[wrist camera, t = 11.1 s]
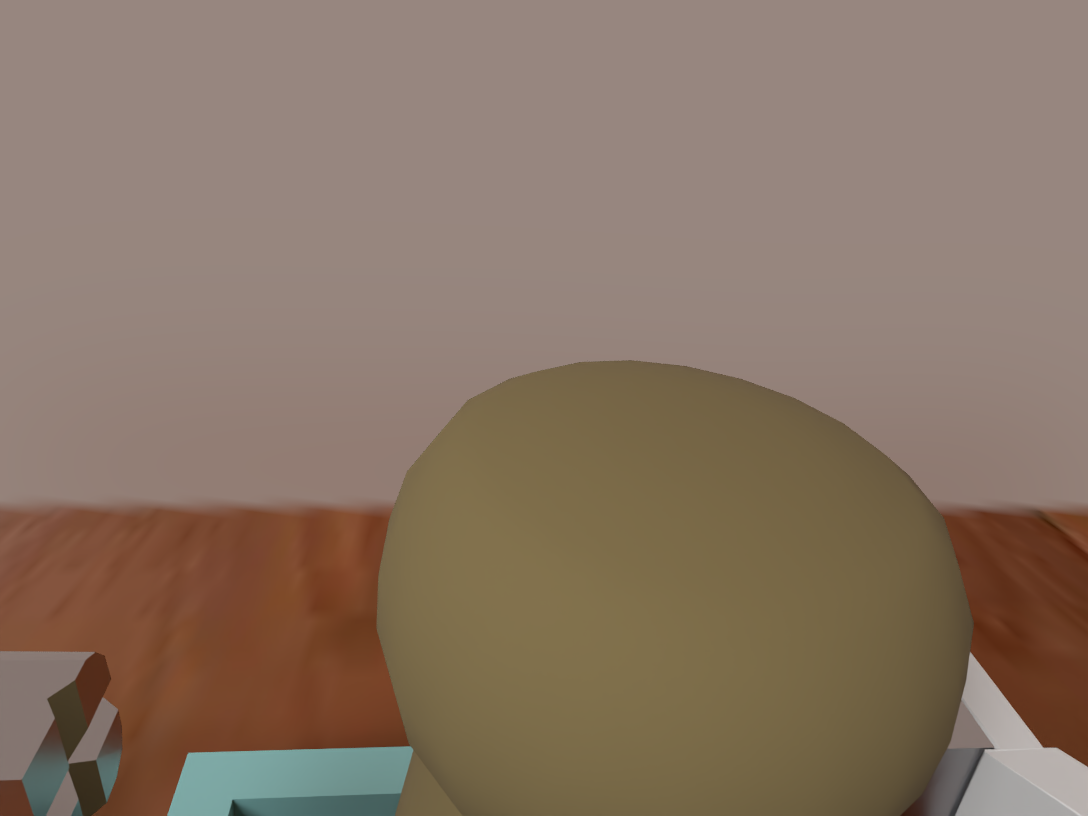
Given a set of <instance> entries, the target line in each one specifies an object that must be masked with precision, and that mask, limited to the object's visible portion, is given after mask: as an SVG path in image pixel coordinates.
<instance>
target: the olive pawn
mask: <svg viewBox="0 0 1088 816" xmlns="http://www.w3.org/2000/svg"><path fill="white" fill-rule="evenodd" d="M973 625H974V622H973V619H972V615H971V611H970V607H969V603H968V600H967V596H966V592H965V588H964V584H963V581H962V577H961V573H960V569H959V565H958V562H957V559H956V556H955V552H954V549H953V546H952V543H951V539H950V536H949V533H948V530H947V527H946V523H945V520H944V518H943V516H942V515H941V514H940V513H939V512H938V510H937V509H936V508H935V507H934V505H933V504H932V503H931V502H930V501H929V499H928V498H927V497H926V496H925V494H924V493H923V492H922V491H921V490H920V488H919V487H918V486H917V485H916V484H915V483H914V481H913V480H912V479H911V477H910V476H909V475H908V474H907V473H906V472H904V471H903V470H902V469H901V468H900V467H899V466H898V465H896V464H895V463H894V462H893V461H892V460H891V459H889V458H888V457H887V456H886V455H885V454H883V453H882V452H881V451H880V450H878V449H877V448H876V447H874V446H873V445H872V444H870V443H869V442H868V441H866V440H865V439H864V438H862V437H861V436H859V435H858V434H857V433H856V432H854V431H853V430H851V429H850V428H849V427H847V426H846V425H845V424H843V423H841V422H839V421H838V420H836V419H834V418H832V417H830V416H828V415H826V414H824V413H822V412H820V411H818V410H816V409H814V408H812V407H810V406H808V405H807V404H805V403H803V402H801V401H799V400H797V399H795V398H792V397H790V396H787V395H784V394H781V393H779V392H776V391H773V390H770V389H767V388H765V387H762V386H759V385H756V384H754V383H751V382H748V381H745V380H742V379H739V378H735V377H730V376H726V375H722V374H717V373H713V372H709V371H704V370H700V369H696V368H691V367H687V366H679V365H670V364H660V363H650V362H641V361H631V360H629V361H600V362H579V363H574V364H569V365H565V366H560V367H556V368H551V369H546V370H542V371H537V372H533V373H530V374H526V375H522V376H518V377H515V378H511V379H508V380H506V381H504V382H503V383H501V384H499V385H497V386H495V387H493V388H491V389H489V390H487V391H485V392H483V393H481V394H479V395H477V396H475V397H473V398H471V399H469V400H468V401H467V402H466V403H465V404H464V405H463V407H462V408H461V409H460V410H459V411H458V412H457V413H456V415H455V416H454V417H453V418H452V419H451V420H450V422H449V423H448V424H447V425H446V426H445V427H444V429H443V430H442V431H441V432H440V433H439V434H438V436H437V437H436V438H435V439H434V440H433V441H432V443H431V444H430V445H429V446H428V447H427V449H426V450H425V451H424V452H423V453H422V455H421V456H420V457H419V458H418V459H417V460H416V462H415V463H414V464H413V465H412V466H411V468H410V469H409V470H408V471H407V473H406V476H405V478H404V481H403V484H402V487H401V489H400V492H399V495H398V497H397V500H396V503H395V506H394V508H393V511H392V514H391V516H390V519H389V524H388V529H387V535H386V540H385V545H384V550H383V555H382V560H381V565H380V571H379V577H378V605H377V631H378V635H379V639H380V642H381V646H382V649H383V653H384V656H385V660H386V664H387V667H388V671H389V674H390V678H391V681H392V685H393V689H394V692H395V696H396V699H397V703H398V706H399V710H400V714H401V717H402V721H403V724H404V728H405V731H406V735H407V738H408V742H409V745H410V746H411V748H412V749H413V753H412V757H411V760H410V764H409V767H408V771H407V774H406V778H405V781H404V785H403V788H402V792H401V795H400V799H399V802H398V806H397V810H396V813H395V816H900V815H901V814H902V813H903V812H904V811H905V810H906V809H908V808H909V807H910V806H911V805H912V804H913V803H914V802H915V801H916V800H917V799H918V798H919V797H920V796H921V795H922V794H923V792H924V790H925V788H926V787H927V785H928V783H929V781H930V779H931V777H932V775H933V774H934V772H935V770H936V768H937V766H938V764H939V763H940V761H941V759H942V757H943V755H944V753H945V752H946V750H947V748H948V746H949V744H950V742H951V738H952V734H953V730H954V726H955V722H956V719H957V715H958V711H959V707H960V703H961V699H962V695H963V691H964V687H965V683H966V678H967V670H968V663H969V655H970V648H971V640H972V633H973Z"/></svg>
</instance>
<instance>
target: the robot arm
mask: <svg viewBox="0 0 1088 816" xmlns="http://www.w3.org/2000/svg"><path fill="white" fill-rule="evenodd" d="M110 680H111V677H110V673H109V669H108V666H107V662H106V659H105V656H104V655H102V654H99V653H96V652H10V651H0V816H91V815H93V814H94V813H95V812H96V811H97V810H98V809H100V808H101V807H102V806H103V805H104V804H106V803H107V800H108V798H109V795H110V793H111V790H112V788H113V785H114V782H115V780H116V777H117V772H118V767H119V762H120V757H121V752H122V725H121V720H120V716H119V711H118V709H117V708H116V707H114V706H113V705H112V704H111V703H109V702H108V701H107V700H106V699H104V698H103V695H104V693H105V691H106V689H107V687H108V685H109V682H110ZM900 816H1088V767H1087V766H1085V765H1084V764H1082V763H1080V762H1079V761H1077V760H1075V759H1074V758H1072V757H1071V756H1069V755H1067V754H1066V753H1064V752H1063V751H1061V750H1059V749H1058V748H1043V747H1042V745H1041V744H1040V743H1039V741H1038V740H1037V739H1036V737H1035V736H1034V735H1033V733H1032V732H1031V731H1030V730H1029V728H1028V727H1027V726H1026V724H1025V723H1024V722H1023V720H1022V719H1021V718H1020V716H1019V715H1018V714H1017V713H1016V711H1015V710H1014V709H1013V707H1012V706H1011V705H1010V703H1009V702H1008V701H1007V699H1006V698H1005V697H1004V696H1003V694H1002V693H1001V692H1000V690H999V689H998V688H997V686H996V685H995V684H994V682H993V681H992V680H991V679H990V677H989V676H988V675H987V673H986V672H985V671H984V669H983V668H982V667H981V665H980V664H979V663H978V662H977V660H976V659H975V658H974V656H973V655H972V654H971V652H970V655H969V663H968V670H967V678H966V683H965V687H964V691H963V695H962V699H961V703H960V707H959V711H958V715H957V719H956V722H955V726H954V730H953V734H952V738H951V742H950V744H949V746H948V748H947V750H946V752H945V753H944V755H943V757H942V759H941V761H940V763H939V764H938V766H937V768H936V770H935V772H934V774H933V775H932V777H931V779H930V781H929V783H928V785H927V787H926V788H925V790H924V792H923V794H922V795H921V796H920V797H919V798H918V799H917V800H916V801H915V802H914V803H913V804H912V805H911V806H910V807H909V808H908V809H906V810H905V811H904V812H903V813H902V814H901V815H900Z"/></svg>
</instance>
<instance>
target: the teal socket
mask: <svg viewBox="0 0 1088 816" xmlns="http://www.w3.org/2000/svg"><path fill="white" fill-rule="evenodd" d="M412 753H413V749H412V748H411V746H410V747H375V748H341V749H306V750H272V751H237V752H203V753H188V755H187V758H186V761H185V764H184V767H183V770H182V773H181V776H180V779H179V782H178V785H177V788H176V791H175V794H174V797H173V800H172V803H171V806H170V809H169V812H168V815H167V816H395V813H396V810H397V806H398V802H399V799H400V795H401V792H402V788H403V785H404V781H405V778H406V774H407V771H408V767H409V764H410V760H411V757H412Z"/></svg>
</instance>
